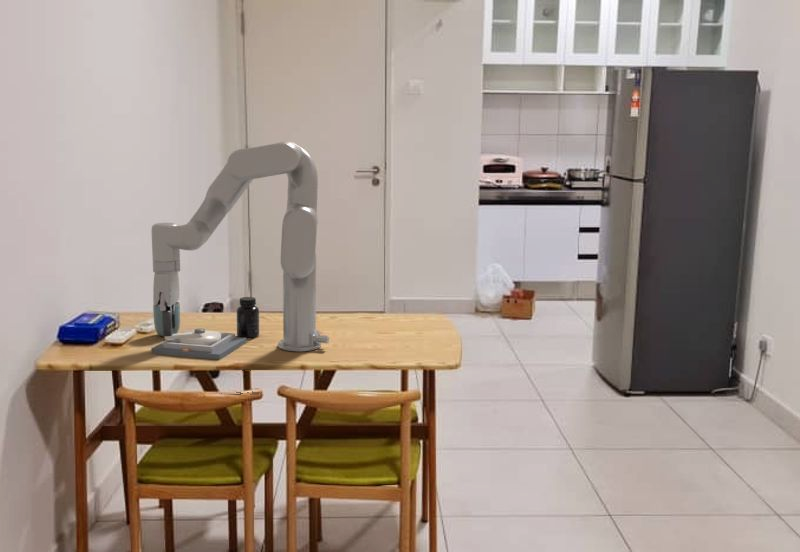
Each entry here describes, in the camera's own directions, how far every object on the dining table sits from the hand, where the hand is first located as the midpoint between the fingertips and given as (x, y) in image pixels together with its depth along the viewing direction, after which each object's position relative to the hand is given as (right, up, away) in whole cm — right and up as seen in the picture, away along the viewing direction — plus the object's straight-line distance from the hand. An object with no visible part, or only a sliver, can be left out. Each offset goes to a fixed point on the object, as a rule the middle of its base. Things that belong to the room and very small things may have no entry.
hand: (168, 327), depth 227 cm
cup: (-4, -3, +13) cm, 14 cm away
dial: (+7, -4, -1) cm, 8 cm away
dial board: (+9, -6, 0) cm, 11 cm away
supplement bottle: (+20, -4, +14) cm, 25 cm away
